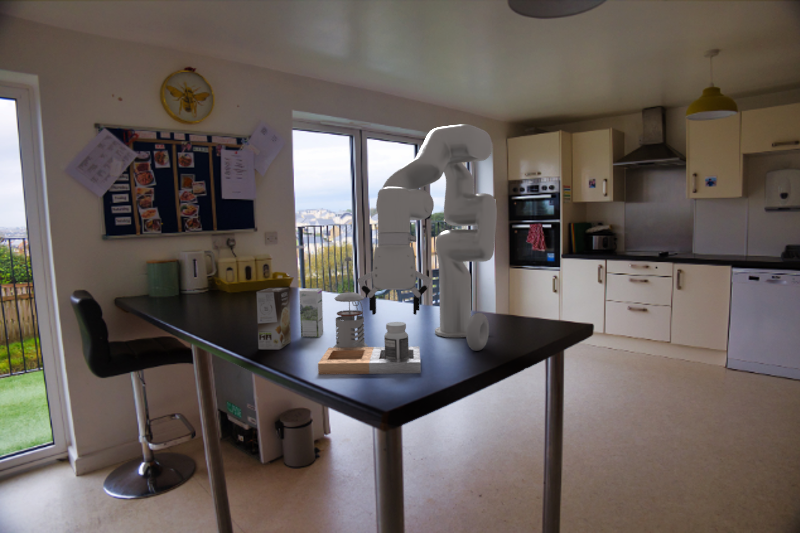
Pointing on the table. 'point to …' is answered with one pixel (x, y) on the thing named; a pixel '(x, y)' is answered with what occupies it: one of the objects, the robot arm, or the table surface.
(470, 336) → the donut
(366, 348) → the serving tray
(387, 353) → the pill bottle
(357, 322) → the french press
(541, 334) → the table surface
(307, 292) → the syrup box
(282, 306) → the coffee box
